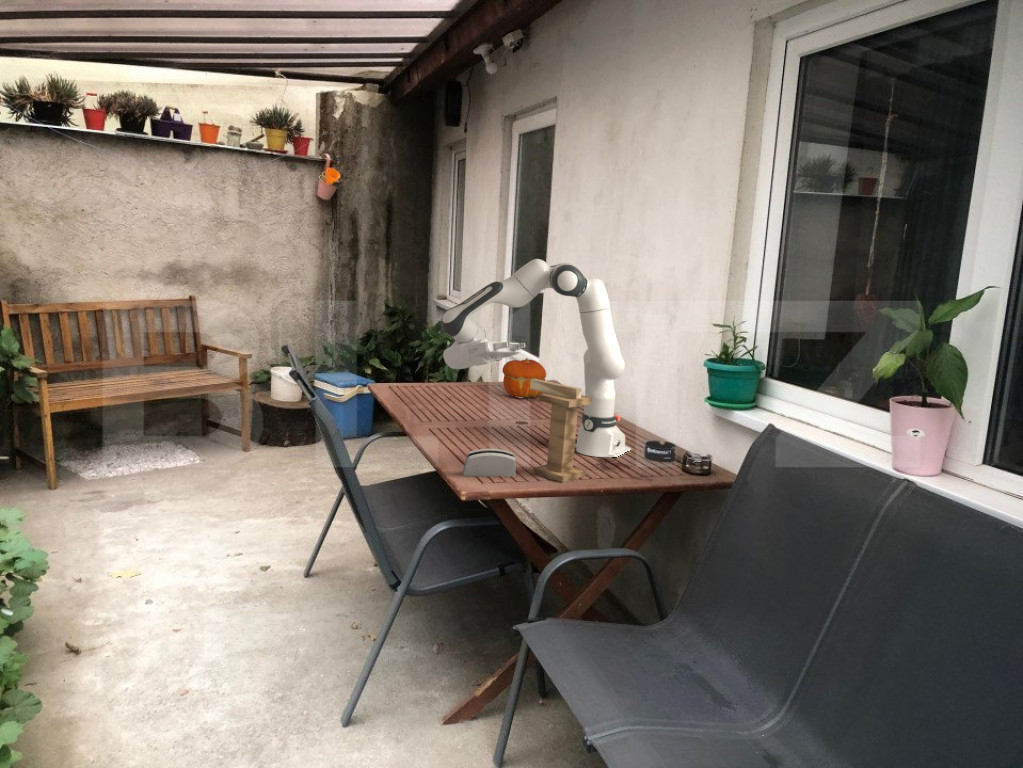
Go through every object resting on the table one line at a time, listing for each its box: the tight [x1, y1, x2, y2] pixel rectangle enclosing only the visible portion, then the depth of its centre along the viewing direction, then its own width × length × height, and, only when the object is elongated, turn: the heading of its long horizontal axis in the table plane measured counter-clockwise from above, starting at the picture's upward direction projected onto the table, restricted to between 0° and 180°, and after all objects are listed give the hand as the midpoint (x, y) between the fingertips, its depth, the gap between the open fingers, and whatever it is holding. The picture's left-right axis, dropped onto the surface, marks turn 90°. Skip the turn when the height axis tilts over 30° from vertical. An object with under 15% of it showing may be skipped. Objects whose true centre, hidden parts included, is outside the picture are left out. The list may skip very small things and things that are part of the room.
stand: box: [532, 393, 592, 484], centre depth 233 cm, size 12×12×26 cm
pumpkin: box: [502, 357, 547, 398], centre depth 364 cm, size 23×23×20 cm
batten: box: [530, 379, 582, 399], centre depth 233 cm, size 2×19×3 cm, turn 48°
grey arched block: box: [462, 448, 516, 478], centre depth 229 cm, size 17×5×10 cm, turn 99°
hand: (516, 344), depth 243 cm, fingers open, 8 cm apart
